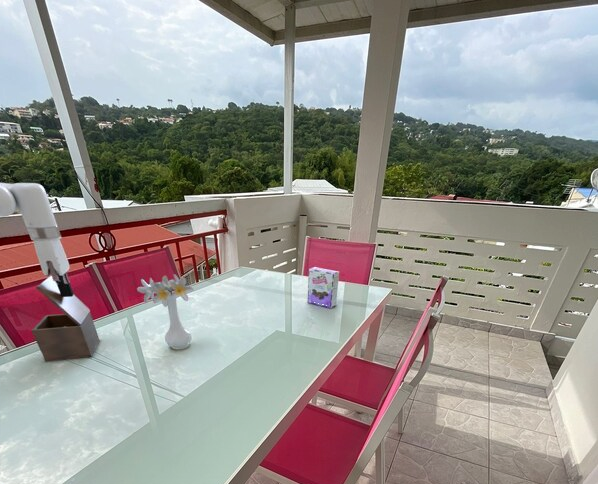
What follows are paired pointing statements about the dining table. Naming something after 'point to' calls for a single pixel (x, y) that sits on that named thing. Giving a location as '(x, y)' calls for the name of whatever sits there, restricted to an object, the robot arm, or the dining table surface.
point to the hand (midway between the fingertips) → (68, 295)
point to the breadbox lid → (64, 301)
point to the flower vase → (170, 307)
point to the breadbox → (65, 337)
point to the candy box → (323, 287)
